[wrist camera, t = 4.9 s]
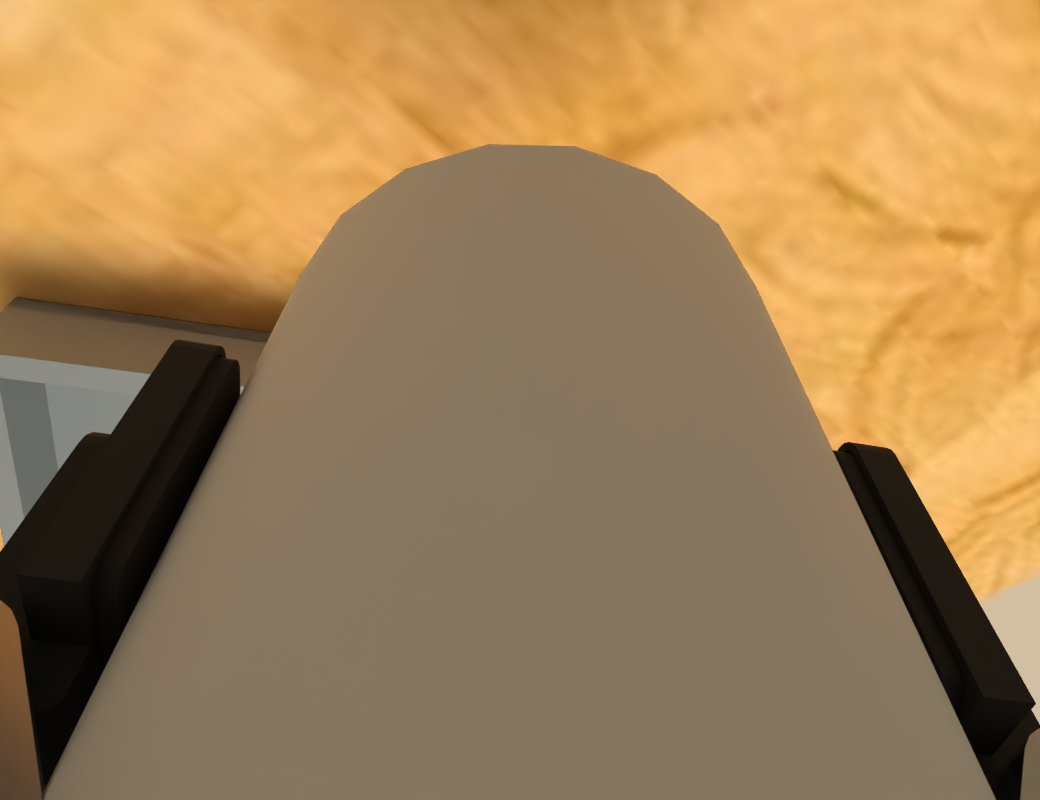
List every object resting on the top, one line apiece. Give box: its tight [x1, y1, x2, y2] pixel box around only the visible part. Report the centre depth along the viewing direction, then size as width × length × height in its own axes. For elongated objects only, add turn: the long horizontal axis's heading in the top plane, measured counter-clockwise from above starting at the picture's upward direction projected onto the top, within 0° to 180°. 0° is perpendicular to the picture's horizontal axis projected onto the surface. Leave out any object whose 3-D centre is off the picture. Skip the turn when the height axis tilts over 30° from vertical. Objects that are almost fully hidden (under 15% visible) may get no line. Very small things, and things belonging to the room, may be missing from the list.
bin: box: [0, 298, 271, 546], centre depth 28 cm, size 14×14×3 cm
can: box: [43, 144, 996, 800], centre depth 9 cm, size 8×8×12 cm
